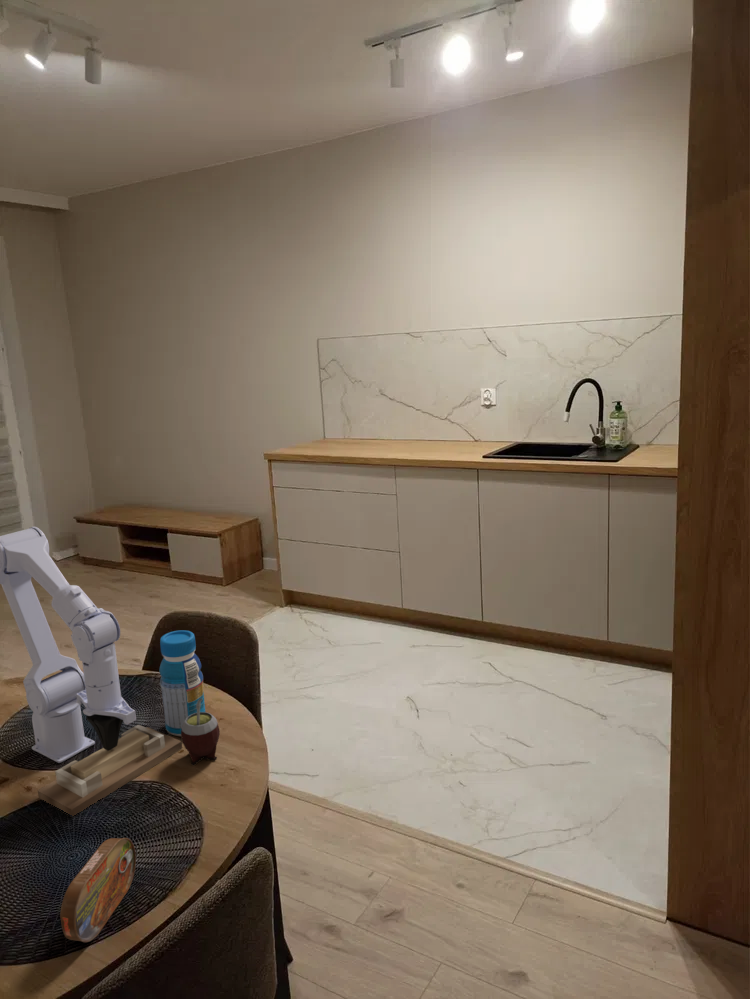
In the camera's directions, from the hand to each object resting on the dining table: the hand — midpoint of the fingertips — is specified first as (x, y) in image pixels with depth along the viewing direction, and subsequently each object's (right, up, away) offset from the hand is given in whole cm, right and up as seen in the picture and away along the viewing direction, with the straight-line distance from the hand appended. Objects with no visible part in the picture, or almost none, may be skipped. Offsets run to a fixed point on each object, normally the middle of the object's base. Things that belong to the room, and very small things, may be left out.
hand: (110, 747), depth 134 cm
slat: (0, -4, +1) cm, 4 cm away
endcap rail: (0, -5, +1) cm, 5 cm away
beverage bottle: (+10, -1, +16) cm, 19 cm away
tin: (+10, -13, -31) cm, 35 cm away
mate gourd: (+16, -4, +5) cm, 17 cm away
